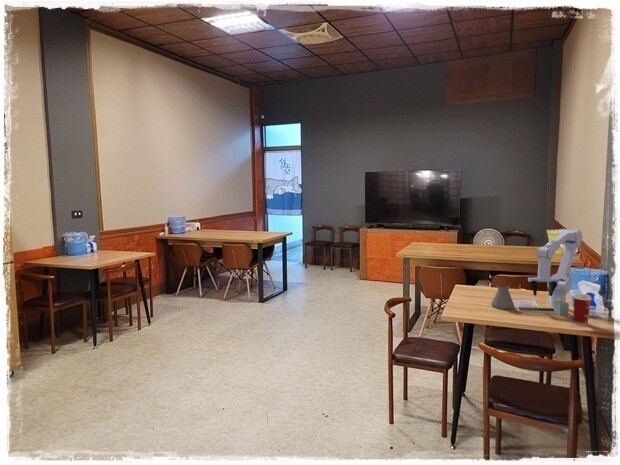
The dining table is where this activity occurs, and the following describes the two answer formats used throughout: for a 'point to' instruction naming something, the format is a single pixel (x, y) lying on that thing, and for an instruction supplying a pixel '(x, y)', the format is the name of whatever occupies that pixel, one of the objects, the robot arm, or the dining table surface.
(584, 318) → the paper cup
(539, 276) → the robot arm
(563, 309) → the teal and beige block
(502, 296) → the coffee pot
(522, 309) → the board
